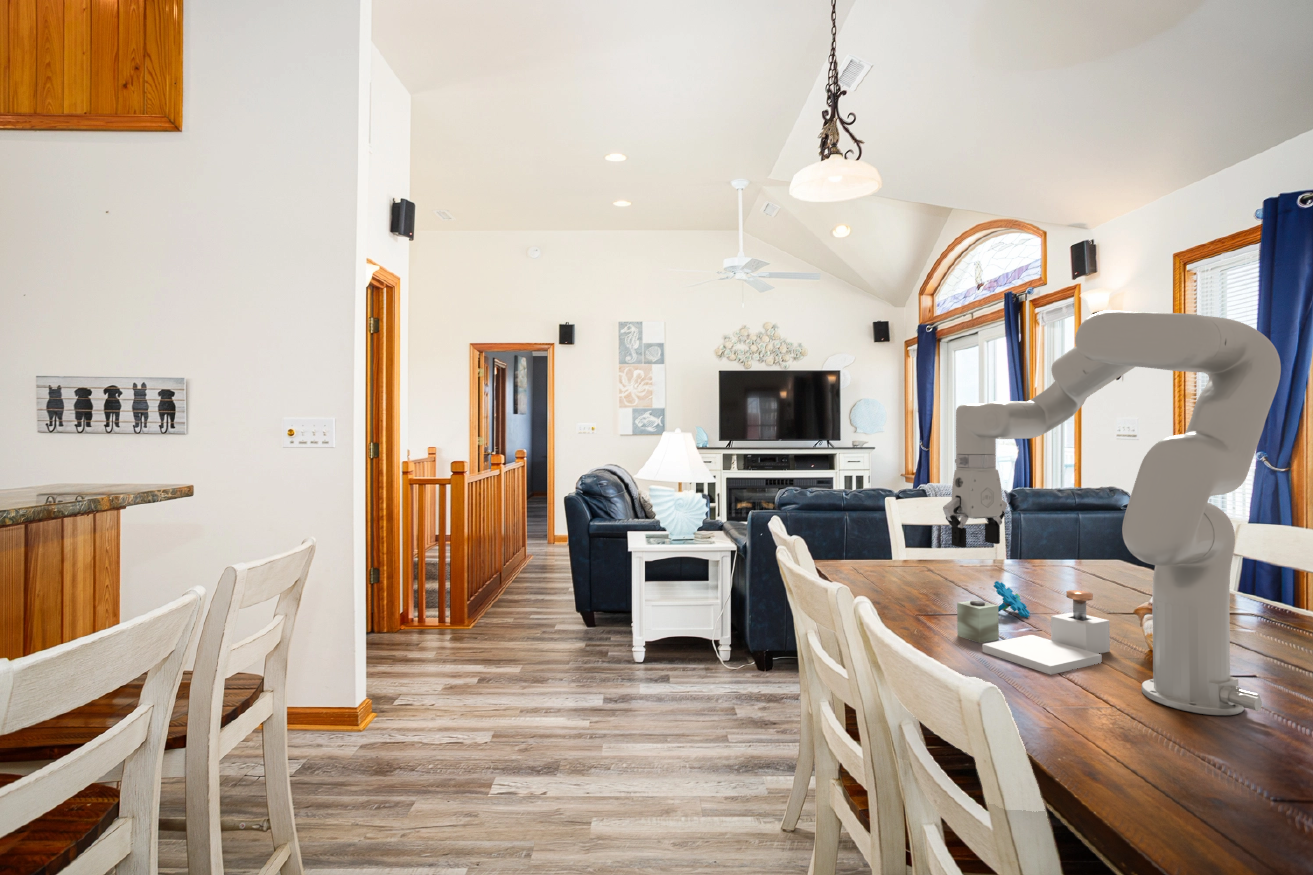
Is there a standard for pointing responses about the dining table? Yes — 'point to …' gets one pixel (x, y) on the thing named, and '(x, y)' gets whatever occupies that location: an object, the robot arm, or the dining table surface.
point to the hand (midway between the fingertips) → (975, 544)
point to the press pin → (1079, 603)
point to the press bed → (1058, 645)
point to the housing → (977, 621)
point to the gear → (1010, 600)
